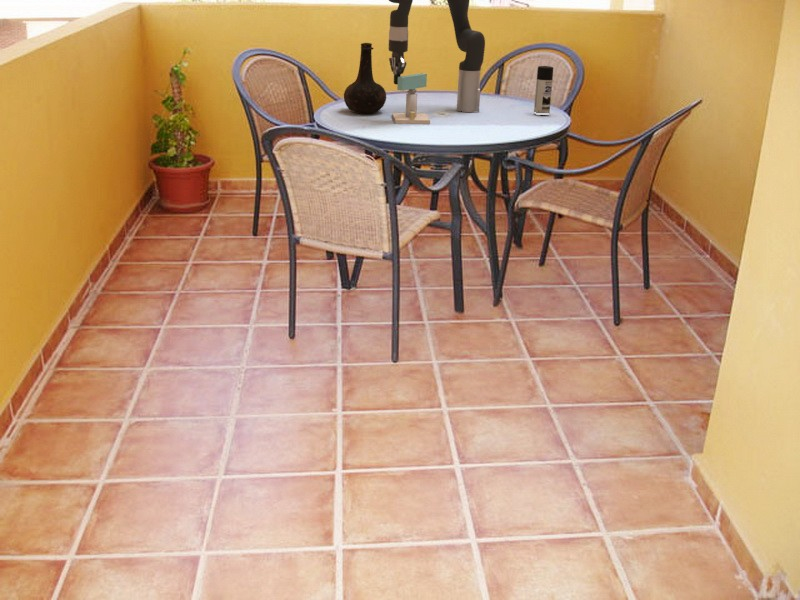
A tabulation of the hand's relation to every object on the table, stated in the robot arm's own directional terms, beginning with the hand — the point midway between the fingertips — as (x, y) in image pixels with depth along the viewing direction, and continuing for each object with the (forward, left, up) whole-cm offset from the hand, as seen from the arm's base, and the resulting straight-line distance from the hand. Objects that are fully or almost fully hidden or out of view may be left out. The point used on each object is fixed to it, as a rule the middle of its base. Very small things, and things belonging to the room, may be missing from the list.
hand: (396, 84), depth 334 cm
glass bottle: (+11, -18, -15) cm, 26 cm away
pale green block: (-6, -2, -4) cm, 8 cm away
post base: (-6, -2, -15) cm, 16 cm away
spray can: (-64, -17, -15) cm, 68 cm away
